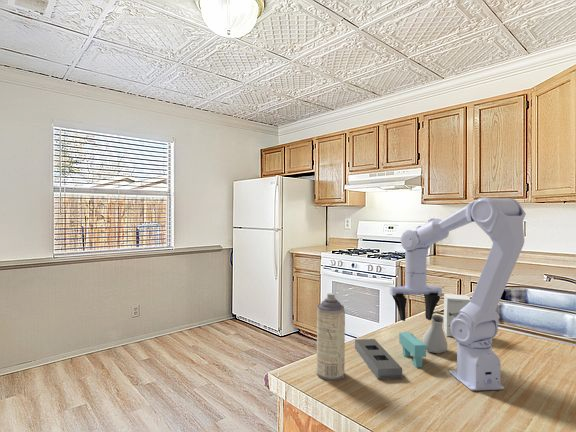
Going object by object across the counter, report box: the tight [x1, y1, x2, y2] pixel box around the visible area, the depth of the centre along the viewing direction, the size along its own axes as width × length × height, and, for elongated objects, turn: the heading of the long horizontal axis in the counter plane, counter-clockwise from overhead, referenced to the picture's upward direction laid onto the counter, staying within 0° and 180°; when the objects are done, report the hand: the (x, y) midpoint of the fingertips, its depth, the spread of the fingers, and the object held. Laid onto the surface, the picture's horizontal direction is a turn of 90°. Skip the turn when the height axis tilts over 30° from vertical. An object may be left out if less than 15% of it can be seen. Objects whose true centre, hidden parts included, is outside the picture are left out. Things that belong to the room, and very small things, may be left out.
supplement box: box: [443, 293, 471, 338], centre depth 119 cm, size 7×7×13 cm
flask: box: [421, 314, 448, 354], centre depth 103 cm, size 7×7×10 cm
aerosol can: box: [316, 292, 346, 381], centre depth 89 cm, size 7×7×20 cm
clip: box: [398, 331, 427, 368], centre depth 98 cm, size 10×3×6 cm, turn 5°
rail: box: [354, 338, 403, 380], centre depth 97 cm, size 20×6×2 cm, turn 5°
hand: (415, 319), depth 103 cm, fingers open, 7 cm apart
